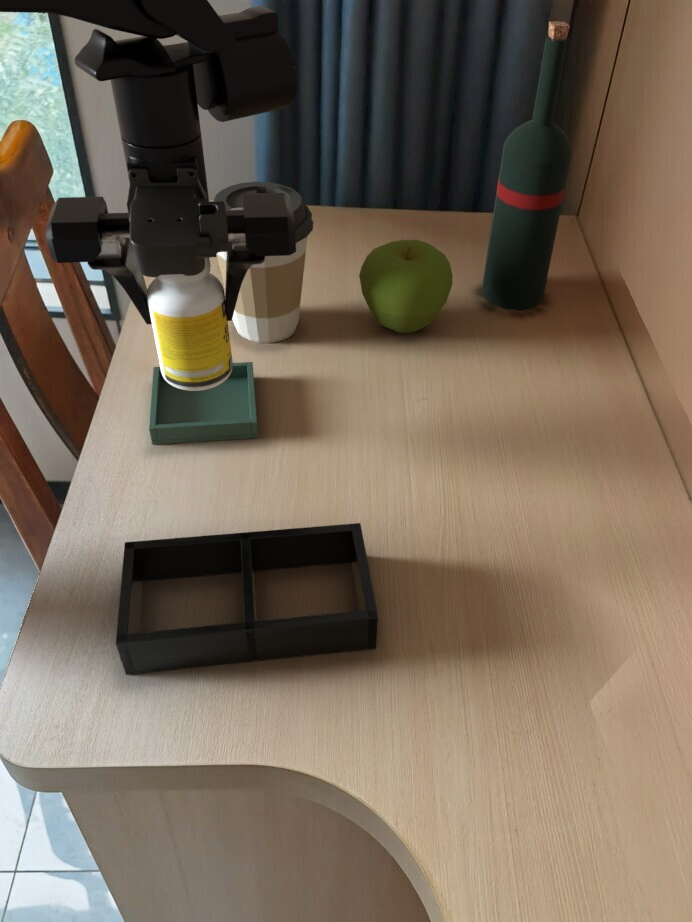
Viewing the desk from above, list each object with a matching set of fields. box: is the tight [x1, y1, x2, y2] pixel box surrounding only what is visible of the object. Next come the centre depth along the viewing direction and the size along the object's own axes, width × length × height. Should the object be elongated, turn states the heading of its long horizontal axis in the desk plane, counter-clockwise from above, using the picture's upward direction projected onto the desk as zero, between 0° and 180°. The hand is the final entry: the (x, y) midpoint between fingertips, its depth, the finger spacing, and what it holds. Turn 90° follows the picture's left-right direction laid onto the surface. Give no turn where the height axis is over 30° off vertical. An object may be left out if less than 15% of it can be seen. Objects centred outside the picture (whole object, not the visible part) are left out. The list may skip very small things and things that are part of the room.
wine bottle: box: [481, 21, 572, 311], centre depth 91 cm, size 8×10×30 cm
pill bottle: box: [147, 258, 234, 391], centre depth 69 cm, size 6×6×12 cm
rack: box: [115, 522, 379, 676], centre depth 63 cm, size 19×10×4 cm, turn 99°
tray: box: [148, 361, 259, 445], centre depth 81 cm, size 10×10×2 cm
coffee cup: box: [212, 181, 314, 344], centre depth 88 cm, size 11×11×15 cm
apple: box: [358, 239, 453, 334], centre depth 91 cm, size 11×10×10 cm
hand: (189, 320), depth 69 cm, fingers closed on pill bottle, 6 cm apart
